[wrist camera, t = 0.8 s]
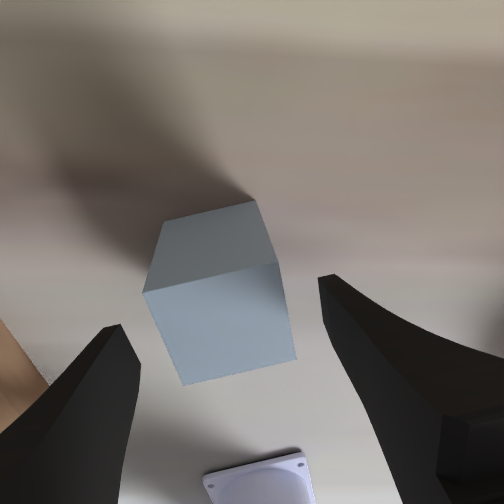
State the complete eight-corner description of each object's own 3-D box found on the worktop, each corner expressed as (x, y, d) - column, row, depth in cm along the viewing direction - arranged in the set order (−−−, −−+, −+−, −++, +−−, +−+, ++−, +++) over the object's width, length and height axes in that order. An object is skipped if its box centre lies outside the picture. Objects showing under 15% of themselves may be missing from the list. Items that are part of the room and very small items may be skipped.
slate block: (271, 277, 18) (296, 359, 13) (190, 295, 18) (183, 386, 13) (255, 199, 16) (278, 261, 11) (163, 221, 16) (142, 292, 11)
